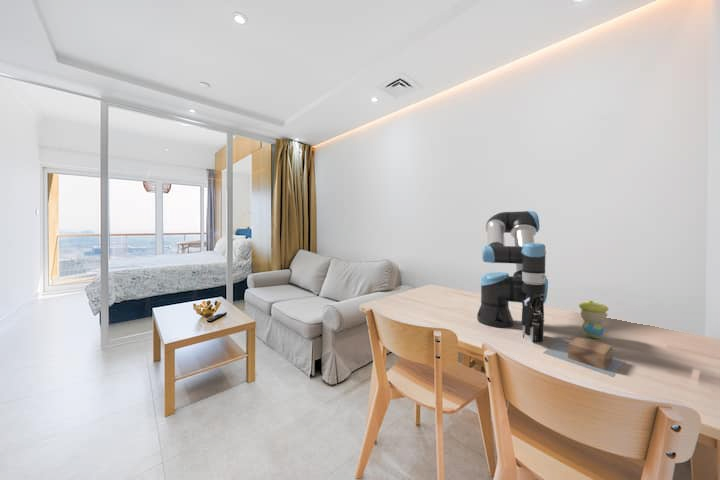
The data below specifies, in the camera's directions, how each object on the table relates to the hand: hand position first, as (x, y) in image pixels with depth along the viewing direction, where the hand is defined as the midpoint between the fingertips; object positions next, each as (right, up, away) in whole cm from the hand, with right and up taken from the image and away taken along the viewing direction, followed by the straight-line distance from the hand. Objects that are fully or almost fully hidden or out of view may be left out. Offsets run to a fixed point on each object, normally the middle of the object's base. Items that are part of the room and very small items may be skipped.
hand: (532, 339), depth 101 cm
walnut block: (+8, 0, -17) cm, 18 cm away
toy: (+25, 0, +2) cm, 26 cm away
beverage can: (0, -1, 0) cm, 1 cm away
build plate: (+7, -1, -15) cm, 16 cm away
